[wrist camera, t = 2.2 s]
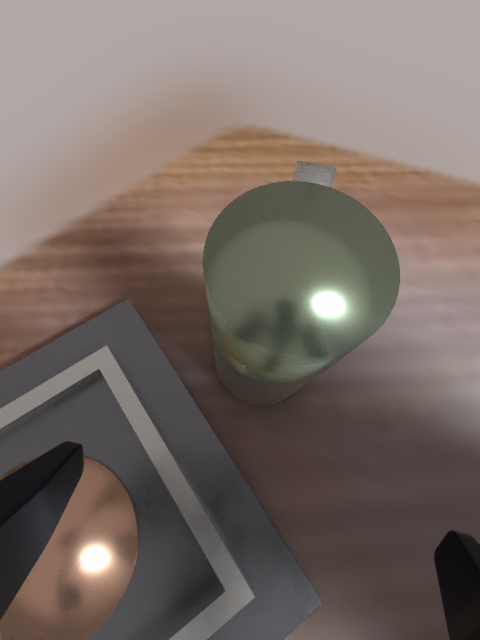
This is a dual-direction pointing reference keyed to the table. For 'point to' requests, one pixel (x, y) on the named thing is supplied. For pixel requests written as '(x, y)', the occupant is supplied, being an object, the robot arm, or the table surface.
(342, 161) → the table surface
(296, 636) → the table surface
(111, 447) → the port plate
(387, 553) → the table surface
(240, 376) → the spout can
